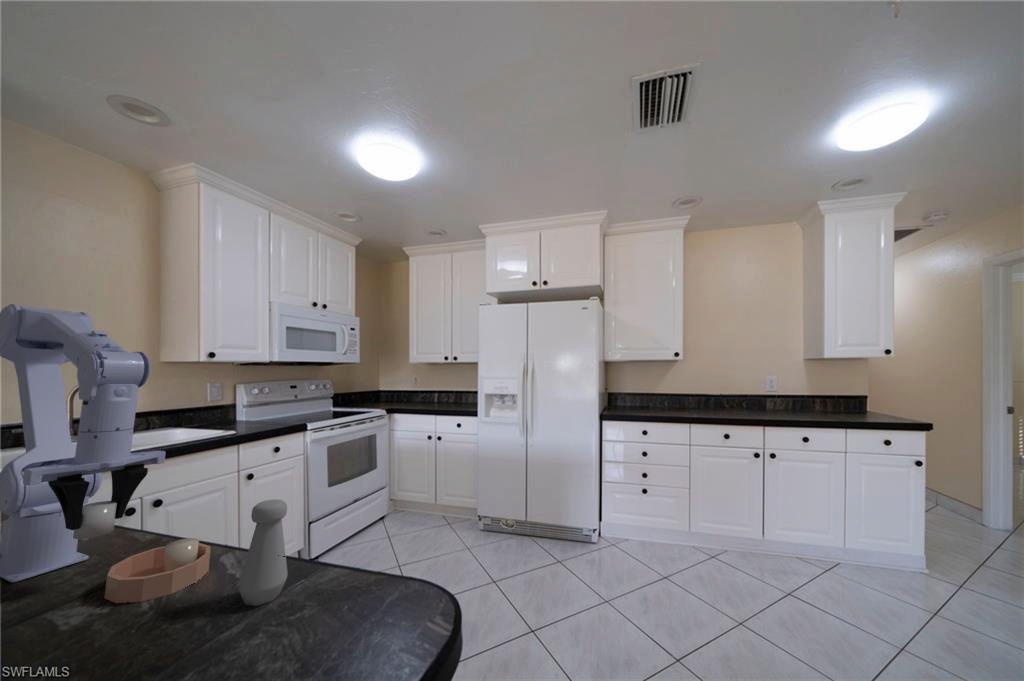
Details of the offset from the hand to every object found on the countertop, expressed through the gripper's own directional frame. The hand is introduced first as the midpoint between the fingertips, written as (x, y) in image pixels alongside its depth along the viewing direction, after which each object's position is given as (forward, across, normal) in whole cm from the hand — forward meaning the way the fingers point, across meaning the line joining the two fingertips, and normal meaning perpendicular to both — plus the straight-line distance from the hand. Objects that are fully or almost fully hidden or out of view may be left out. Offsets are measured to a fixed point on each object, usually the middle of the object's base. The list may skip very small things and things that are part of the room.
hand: (95, 522), depth 55 cm
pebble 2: (+8, +7, -8) cm, 14 cm away
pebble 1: (+2, 0, 0) cm, 2 cm away
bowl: (+9, +5, -8) cm, 13 cm away
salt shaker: (+9, +8, -26) cm, 29 cm away
